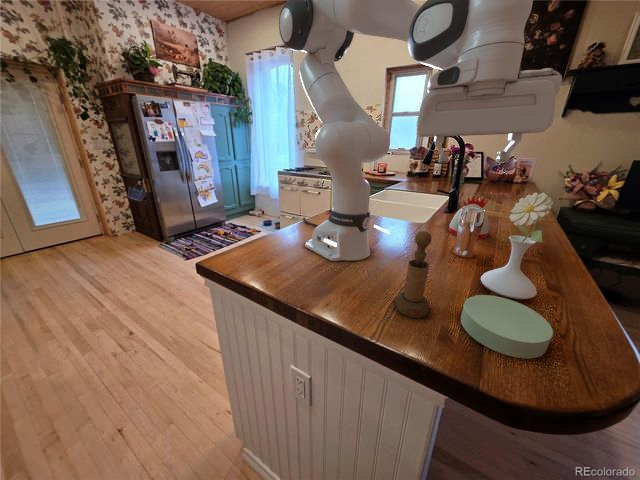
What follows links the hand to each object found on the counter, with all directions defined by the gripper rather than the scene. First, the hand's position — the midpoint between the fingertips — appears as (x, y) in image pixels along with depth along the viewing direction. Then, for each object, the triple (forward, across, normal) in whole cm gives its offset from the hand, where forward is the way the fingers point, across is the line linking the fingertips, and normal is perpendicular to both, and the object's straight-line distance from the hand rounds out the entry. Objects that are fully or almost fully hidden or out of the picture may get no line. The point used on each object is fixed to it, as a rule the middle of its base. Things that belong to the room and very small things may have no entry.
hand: (471, 162), depth 46 cm
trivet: (+32, -9, +4) cm, 33 cm away
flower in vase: (+32, -14, -12) cm, 37 cm away
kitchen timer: (+30, -13, -58) cm, 66 cm away
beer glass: (+30, -8, -34) cm, 46 cm away
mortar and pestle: (+31, +8, +3) cm, 32 cm away
